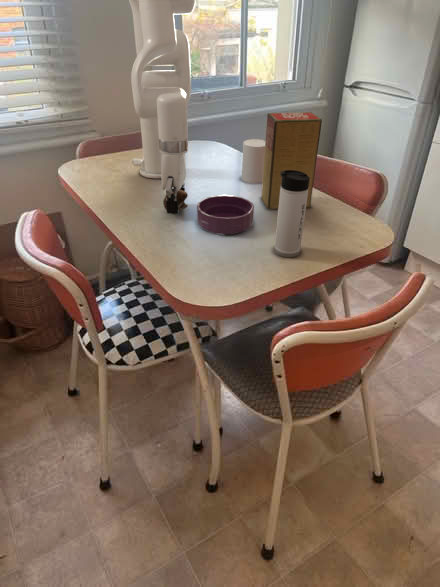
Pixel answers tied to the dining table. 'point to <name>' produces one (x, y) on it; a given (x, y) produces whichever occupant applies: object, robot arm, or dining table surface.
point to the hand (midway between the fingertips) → (176, 206)
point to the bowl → (225, 214)
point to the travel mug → (291, 212)
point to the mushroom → (179, 200)
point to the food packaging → (289, 151)
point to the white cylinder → (253, 160)
